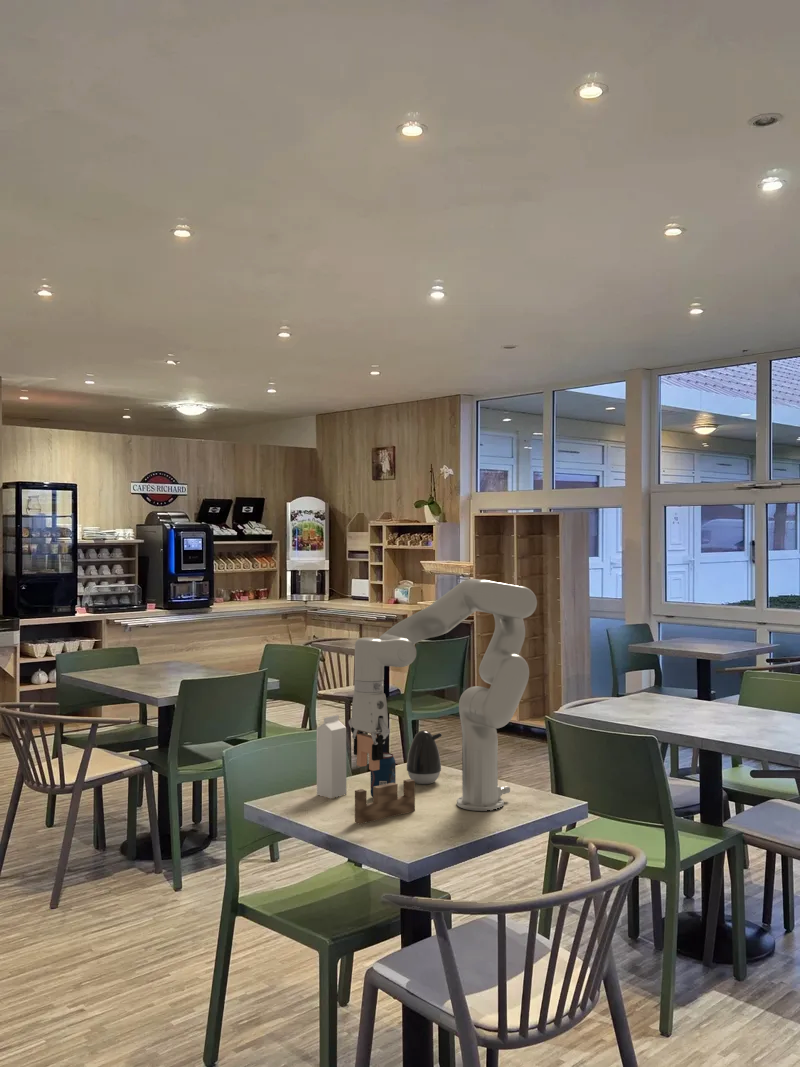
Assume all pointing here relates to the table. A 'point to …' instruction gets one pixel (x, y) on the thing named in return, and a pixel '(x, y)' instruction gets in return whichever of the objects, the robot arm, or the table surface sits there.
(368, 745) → the slotted plate
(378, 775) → the soda can
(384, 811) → the walnut e-shaped block
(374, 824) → the table surface
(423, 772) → the pump dispenser
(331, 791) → the milk
